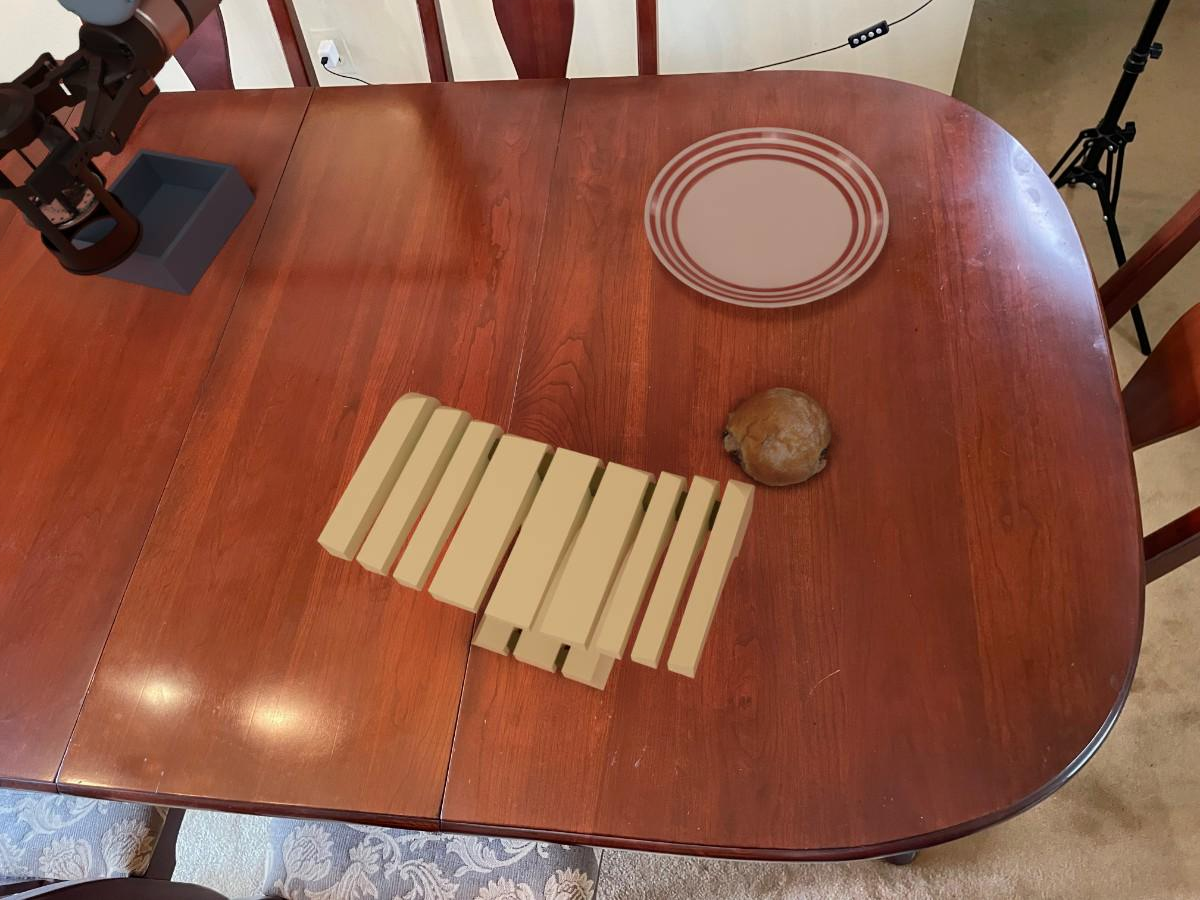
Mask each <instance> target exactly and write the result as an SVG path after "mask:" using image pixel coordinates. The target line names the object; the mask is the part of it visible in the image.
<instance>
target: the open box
mask: <svg viewBox="0 0 1200 900" xmlns="http://www.w3.org/2000/svg"><path fill="white" fill-rule="evenodd" d="M106 190H107V191H109V192H112V193H114V194H116V195H117V196H118V197H119V198H120V199H121V200H122V202H123V203H124V204H125V205H126V206H127V208H128V209H129V210H130V211H131V212H133V213H134V214H136V215H137V217H138V218H139V219H140V220H141V222H142V225H143V236H142V240H141V242H140V244H139V246H138V247H137V249H136V250H135V252H134V253H133V254H132V255H131V256H130V257H129V258H128V259H126V260H125V261H124V262H123V263H121V264H120V265H118V266H117V267H115V268H113V269H111V270H109V271H107V272H103V273H100V274H97V275H96V276H100V277H103V278H109V279H114V280H118V281H122V282H126V283H130V284H135V285H139V286H143V287H148V288H153V289H157V290H161V291H164V292H165V291H167V292H170V293H174V294H179V295H182V296H183V295H184V296H187V297H189V295H190V294H191V293H192V291H193V290H194V288H195V287H196V286H197V284H198V283H199V281H200V280H201V279H202V277H203V276H204V274H205V273H206V271H207V270H208V268H209V267H210V265H211V264H212V263H213V261H214V260H215V258H216V257H217V255H218V254H219V253H220V251H221V250H222V248H223V247H224V246H225V244H226V243H227V241H228V240H229V239H230V238H231V236H232V234H233V233H234V231H236V229H237V227H238V226H239V224H240V223H241V222H242V220H243V219H244V217H245V215H246V214H247V213H248V211H249V210H250V209H251V207H252V206H253V204H254V203H255V201H256V197H255V196H254V194H253V192H252V191H251V189H250V186H248V184H247V182H246V181H245V179H244V177H243V175H242V173H241V172H240V171H239V169H238V167H237V166H236V164H231V163H225V162H219V161H215V160H209V159H204V158H199V157H192V156H186V155H181V154H176V153H169V152H163V151H159V150H158V151H157V150H155V149H154V150H153V149H148V148H142V147H141V148H139V150H138V151H137V152H136V153H135V155H134V156H133V157H132V158H131V160H130V161H129V162H128V163H127V165H126V166H125V167H124V168H123V169H122V171H121V172H120V173H119V174H118V175H117V177H116V178H115V179H114V180H113V182H112V183H111V184H110V185H109V186H108V187H107V188H106ZM116 224H117V221H116V220H115V219H114V218H104V219H100V220H97V221H95V222H93V223H91V224H89V225H87V226H86V227H84V228H83V229H82V230H81V231H80V232H79V233H78V234H77V235H76V236H75V237H74V239H73V240H72V242H71V243H72V244H73V245H74V246H75V247H76V248H77V249H78V250H81V249H84V248H87V247H89V246H91V245H93V244H95V243H97V242H98V241H100V240H101V239H103V238H104V237H105V236H106V235H108V234H109V233H110V232H111V231H112V230H113V228H114V227H115V226H116Z"/></svg>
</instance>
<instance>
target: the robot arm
mask: <svg viewBox="0 0 1200 900" xmlns="http://www.w3.org/2000/svg"><path fill="white" fill-rule="evenodd" d="M56 1H57V3H59V4H60V6H61V7H63V8H64V9H65V10H66V11H67V12H71V13H72V14H73V15H75V16H77V17H78V18H80V19H81V20H82V21H84V22H83V23H82V24H81V26H80V27H79V29H78V49H77V50H75V51H74V52H72V53H70V54H69V55H67V56H66V57H65V58H64V59H57V58H55V57H54V56H53V55H52V53H51V52H49V51H45V52H42V53H41V54H40V55H39V56H38V58H37V59H35V61H34V62H33V64H32V65H31V66H30V67H28V68H27V69H26V70H25V71H23V72H22V73H21V74H20V75H18V76H17V77H16V78H14V79H13V80H11V82H15V83H20V84H24V85H26V86H27V87H29V88H30V89H31V91H32V92H33V93H34V94H35V97H36V104H37V106H38V107H39V108H40V109H41V110H42V112H43V113H44V115H54V113H56V112H57V111H60V110H61V109H62V108H64V107H67V108H74V107H76V106H78V105H79V104H81V103H82V102H84V105H83V108H82V112H81V116H80V119H79V123H78V126H74V127H71V128H70V129H71V131H72V132H73V133H74V135H75V136H76V137H77V139H76V138H75V137H74V136H73V135H72V134H71V135H67V134H66V135H65V136H64V138H63V139H62V140H61V141H60V142H59V143H58V144H57V145H56V147H55V148H54V149H53V150H52V151H51V152H50V151H49V153H48V154H47V155H46V156H45V158H43V160H42V161H41V162H40V163H39V164H38V166H36V167H37V168H36V169H35V170H33V171H32V172H31V174H29V176H28V177H27V178H26V179H25V180H24V181H23V183H24V185H25V184H26V185H27V187H28V188H29V189H30V190H31V191H32V192H33V193H34V194H35V195H36V196H37V197H38V199H39V200H40V201H41V202H42V203H43V204H46V205H50V204H51V203H52V202H53V201H54V200H55V199H56V197H57V196H58V195H59V194H60V193H61V192H62V190H63V189H64V188H65V187H66V186H67V185H68V183H69V182H70V181H71V180H72V179H73V178H74V177H75V176H77V175H78V174H80V172H81V171H82V170H83V169H84V168H85V166H86V165H87V164H88V163H89V162H90V161H91V160H92V161H93V159H94V158H99V157H101V156H102V155H103V154H104V153H109V154H110V155H111V156H118V155H120V154H121V153H122V152H123V151H124V148H125V146H126V145H127V143H128V142H129V139H130V137H132V134H133V132H134V130H135V129H136V127H137V125H138V123H139V121H140V120H141V118H142V116H143V114H144V112H145V111H146V109H147V107H148V105H149V104H150V103H151V102H152V101H153V100H154V99H155V98H156V97H157V96H158V95H159V94H160V93H161V88H160V87H159V85H158V84H157V82H156V80H155V78H156V77H157V76H158V74H159V73H160V72H161V71H162V70H163V68H164V67H165V65H166V63H167V62H169V61H170V60H171V59H172V57H173V56H174V55H175V53H176V52H177V51H178V50H179V49H180V47H181V46H182V45H183V44H184V43H185V41H187V40H188V39H189V37H191V36H192V35H193V33H194V32H195V31H196V30H197V29H198V28H199V26H200V25H201V24H202V23H203V22H204V21H205V20H206V19H207V18H208V16H209V15H210V14H211V13H212V12H213V11H214V10H215V9H216V8H218V7H219V6H220V5H221V4H222V2H223V0H56ZM62 85H63V86H64V87H65V88H66V89H67V91H68V92H69V93H70V94H68V93H67V92H66V91H65V89H64V88H63V87H62ZM112 133H113V134H114V135H113V134H112Z"/></svg>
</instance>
